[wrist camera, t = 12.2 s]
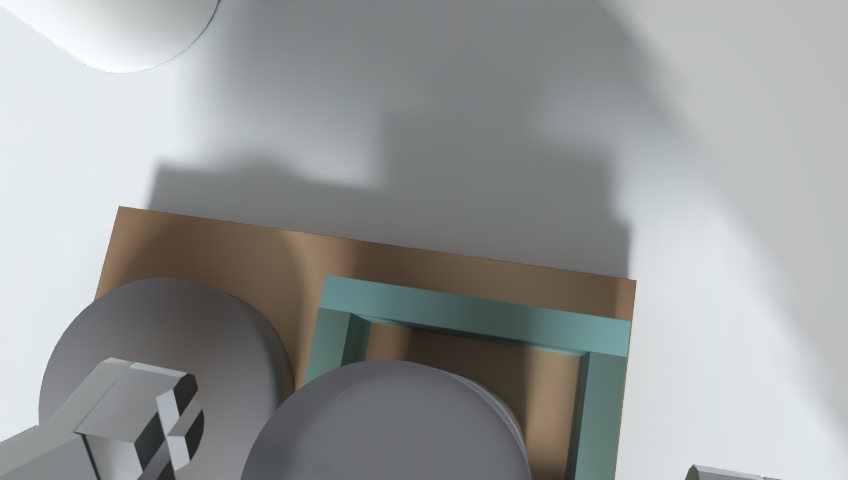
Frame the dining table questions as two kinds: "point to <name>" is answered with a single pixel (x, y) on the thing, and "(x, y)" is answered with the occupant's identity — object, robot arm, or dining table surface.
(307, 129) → the dining table surface
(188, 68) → the dining table surface
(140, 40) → the mug
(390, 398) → the pin
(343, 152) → the dining table surface
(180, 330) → the nut block
